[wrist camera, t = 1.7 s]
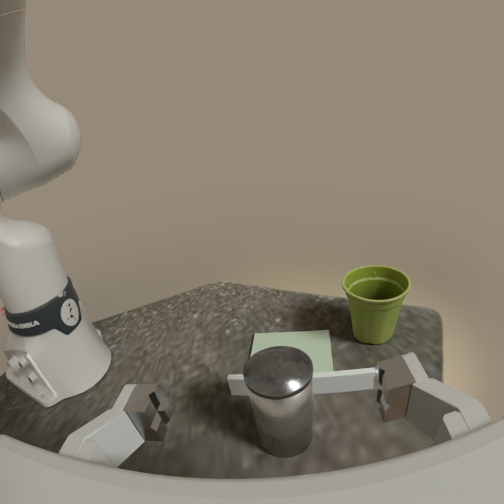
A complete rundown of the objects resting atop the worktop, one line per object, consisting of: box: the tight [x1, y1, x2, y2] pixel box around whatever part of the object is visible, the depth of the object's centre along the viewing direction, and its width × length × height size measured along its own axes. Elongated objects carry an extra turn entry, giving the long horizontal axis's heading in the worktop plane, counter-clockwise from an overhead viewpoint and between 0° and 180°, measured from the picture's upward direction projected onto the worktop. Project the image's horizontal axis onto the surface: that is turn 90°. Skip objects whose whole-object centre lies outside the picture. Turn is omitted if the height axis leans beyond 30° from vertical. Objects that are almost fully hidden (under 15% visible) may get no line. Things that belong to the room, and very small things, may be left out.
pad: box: [250, 330, 333, 373], centre depth 40 cm, size 11×10×1 cm
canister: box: [243, 346, 313, 458], centre depth 27 cm, size 6×6×11 cm
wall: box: [227, 368, 376, 396], centre depth 34 cm, size 20×1×3 cm, turn 83°
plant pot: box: [342, 265, 411, 345], centre depth 40 cm, size 9×9×9 cm
